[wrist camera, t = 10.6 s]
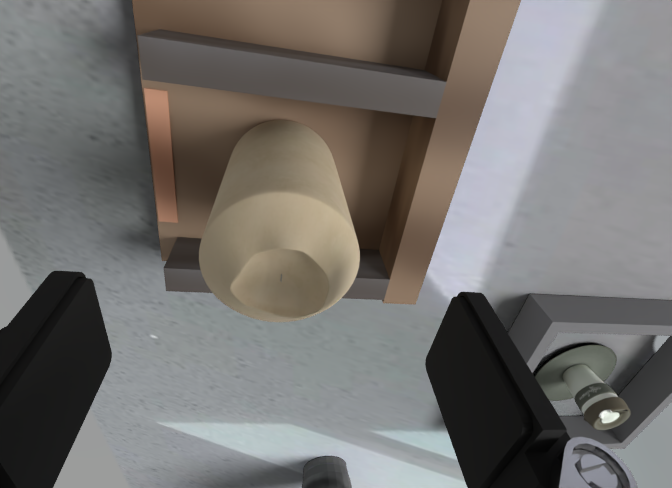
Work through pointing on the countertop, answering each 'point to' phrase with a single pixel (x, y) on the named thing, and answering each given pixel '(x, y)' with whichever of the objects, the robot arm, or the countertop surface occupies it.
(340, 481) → the beverage cup
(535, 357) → the grey shallow square tray
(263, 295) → the candle
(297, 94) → the wooden divided tray
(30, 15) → the countertop surface
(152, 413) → the countertop surface
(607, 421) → the coffee cup
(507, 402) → the robot arm
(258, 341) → the countertop surface
